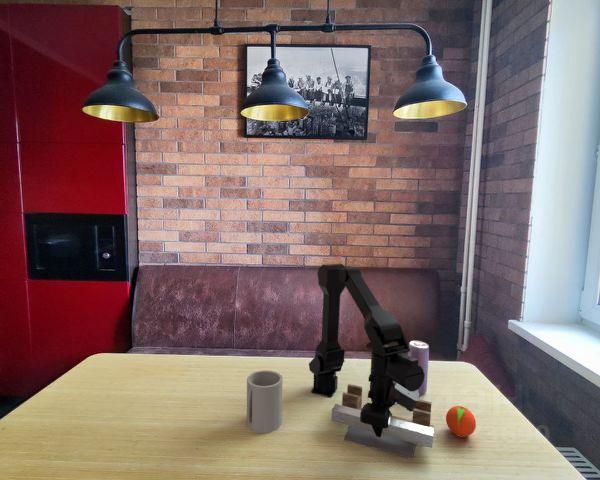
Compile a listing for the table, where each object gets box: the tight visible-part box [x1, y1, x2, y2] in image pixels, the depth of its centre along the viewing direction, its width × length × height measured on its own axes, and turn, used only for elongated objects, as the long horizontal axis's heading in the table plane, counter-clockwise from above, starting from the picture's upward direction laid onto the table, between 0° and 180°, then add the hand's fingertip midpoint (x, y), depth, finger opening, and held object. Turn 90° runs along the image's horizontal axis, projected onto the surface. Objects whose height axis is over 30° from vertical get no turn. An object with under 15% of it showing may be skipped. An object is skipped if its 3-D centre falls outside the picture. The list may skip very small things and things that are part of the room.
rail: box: [330, 403, 435, 449], centre depth 87 cm, size 24×3×3 cm, turn 67°
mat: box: [343, 426, 416, 460], centre depth 87 cm, size 16×7×1 cm, turn 67°
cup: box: [246, 369, 284, 434], centre depth 93 cm, size 9×9×12 cm
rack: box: [341, 383, 435, 436], centre depth 94 cm, size 24×6×7 cm, turn 67°
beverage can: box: [407, 340, 430, 396], centre depth 110 cm, size 6×6×15 cm
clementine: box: [445, 405, 477, 438], centre depth 90 cm, size 8×7×7 cm
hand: (379, 432), depth 87 cm, fingers closed on rail, 3 cm apart
